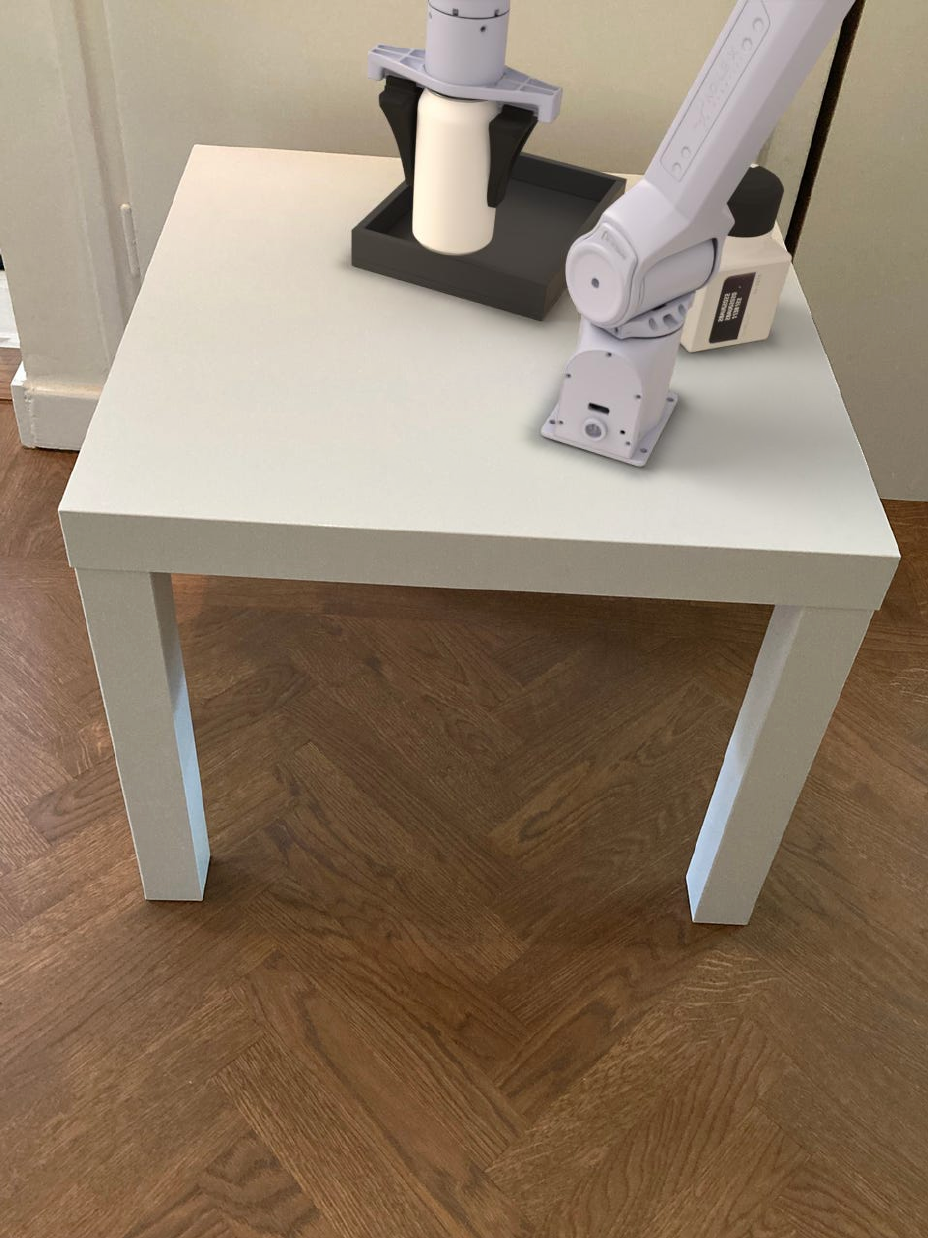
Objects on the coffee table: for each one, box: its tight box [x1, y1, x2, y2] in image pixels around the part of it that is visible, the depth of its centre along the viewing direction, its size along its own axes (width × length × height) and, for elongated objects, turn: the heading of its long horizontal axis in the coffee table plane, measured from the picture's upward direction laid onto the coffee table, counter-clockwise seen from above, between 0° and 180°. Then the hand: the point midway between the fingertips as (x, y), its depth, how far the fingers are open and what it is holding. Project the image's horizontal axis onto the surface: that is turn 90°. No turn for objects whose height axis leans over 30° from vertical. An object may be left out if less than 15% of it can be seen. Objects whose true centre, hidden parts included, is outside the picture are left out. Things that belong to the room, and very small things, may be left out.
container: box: [680, 162, 793, 353], centre depth 92 cm, size 8×8×13 cm
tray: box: [350, 150, 628, 322], centre depth 103 cm, size 22×18×3 cm
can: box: [413, 87, 502, 255], centre depth 88 cm, size 6×6×12 cm
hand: (455, 191), depth 90 cm, fingers closed on can, 6 cm apart
